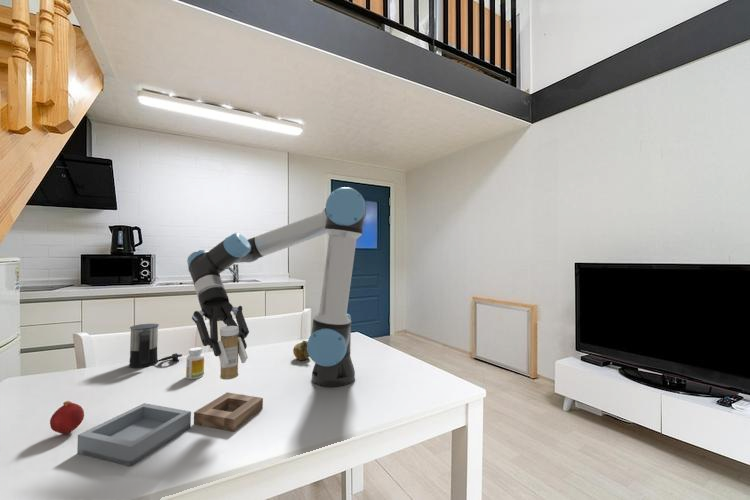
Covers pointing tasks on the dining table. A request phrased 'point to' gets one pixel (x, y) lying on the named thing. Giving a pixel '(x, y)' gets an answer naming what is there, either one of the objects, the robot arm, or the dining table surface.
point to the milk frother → (145, 346)
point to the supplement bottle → (195, 363)
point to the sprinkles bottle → (230, 351)
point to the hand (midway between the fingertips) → (235, 362)
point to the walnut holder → (226, 420)
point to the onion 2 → (301, 351)
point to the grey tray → (133, 434)
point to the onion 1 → (67, 418)
